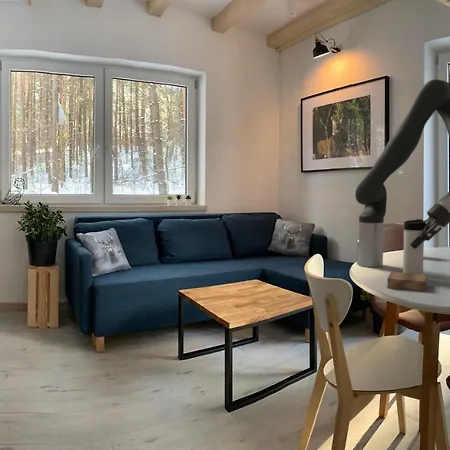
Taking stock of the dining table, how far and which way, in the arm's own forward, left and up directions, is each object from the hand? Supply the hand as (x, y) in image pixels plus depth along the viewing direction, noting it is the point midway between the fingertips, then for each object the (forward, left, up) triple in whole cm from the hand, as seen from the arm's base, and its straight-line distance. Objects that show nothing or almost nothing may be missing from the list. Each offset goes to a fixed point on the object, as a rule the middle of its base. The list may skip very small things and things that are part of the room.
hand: (409, 245), depth 155 cm
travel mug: (+1, +2, -12) cm, 12 cm away
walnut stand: (+7, -9, -12) cm, 16 cm away
